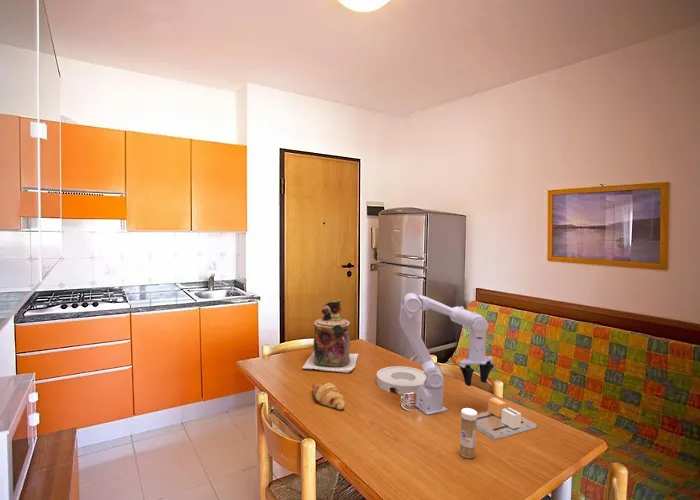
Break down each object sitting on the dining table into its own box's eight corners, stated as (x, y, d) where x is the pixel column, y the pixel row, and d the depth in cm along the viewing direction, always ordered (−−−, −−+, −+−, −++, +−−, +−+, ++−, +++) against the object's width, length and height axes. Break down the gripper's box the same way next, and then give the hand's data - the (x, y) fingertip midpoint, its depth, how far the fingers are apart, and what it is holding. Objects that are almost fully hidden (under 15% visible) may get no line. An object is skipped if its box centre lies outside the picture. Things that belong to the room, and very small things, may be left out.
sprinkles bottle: (456, 455, 117) (458, 410, 116) (463, 448, 120) (465, 405, 119) (471, 461, 114) (473, 416, 113) (477, 454, 117) (479, 410, 116)
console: (495, 440, 125) (495, 436, 125) (461, 419, 139) (461, 415, 139) (537, 428, 134) (538, 424, 134) (502, 409, 148) (502, 406, 148)
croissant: (349, 418, 144) (358, 398, 146) (329, 412, 139) (339, 391, 140) (318, 397, 161) (327, 378, 163) (300, 390, 156) (309, 371, 157)
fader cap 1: (498, 417, 138) (499, 403, 138) (487, 411, 143) (488, 398, 143) (505, 415, 140) (506, 402, 140) (494, 409, 144) (495, 396, 144)
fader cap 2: (513, 428, 130) (513, 414, 130) (501, 422, 135) (501, 408, 134) (520, 426, 132) (521, 412, 132) (508, 420, 136) (509, 406, 136)
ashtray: (389, 398, 155) (389, 388, 155) (368, 377, 177) (368, 368, 177) (440, 392, 163) (440, 383, 162) (414, 372, 185) (414, 364, 184)
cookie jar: (312, 354, 207) (314, 294, 205) (359, 357, 204) (360, 296, 202) (300, 370, 182) (302, 302, 181) (352, 374, 179) (355, 305, 177)
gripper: (470, 352, 138) (468, 390, 138) (499, 348, 144) (498, 384, 145) (456, 347, 144) (454, 383, 145) (485, 343, 151) (484, 377, 151)
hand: (475, 383), depth 145 cm, fingers open, 7 cm apart
